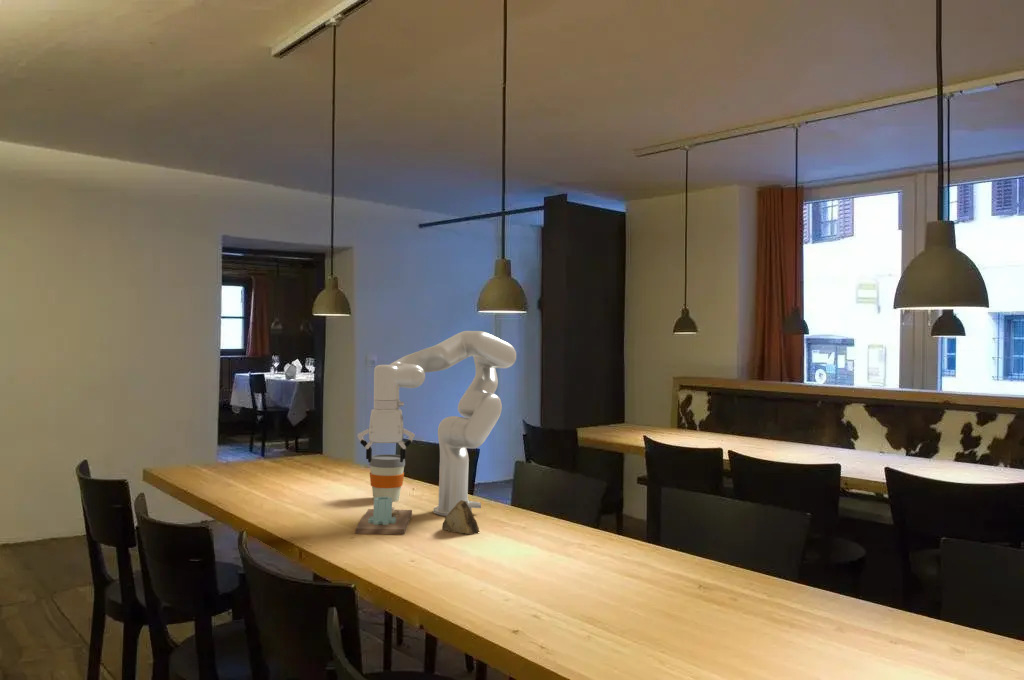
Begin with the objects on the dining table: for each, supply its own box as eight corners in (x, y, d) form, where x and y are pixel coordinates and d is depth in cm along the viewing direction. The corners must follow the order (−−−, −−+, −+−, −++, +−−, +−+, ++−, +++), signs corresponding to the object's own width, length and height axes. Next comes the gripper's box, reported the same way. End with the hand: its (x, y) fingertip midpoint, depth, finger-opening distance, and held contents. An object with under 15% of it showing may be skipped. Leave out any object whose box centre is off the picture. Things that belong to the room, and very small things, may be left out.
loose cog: (397, 518, 227) (398, 496, 227) (394, 525, 218) (395, 501, 218) (370, 518, 226) (371, 495, 226) (366, 524, 218) (367, 501, 218)
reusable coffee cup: (400, 504, 254) (402, 460, 254) (364, 502, 254) (365, 459, 255) (406, 496, 267) (408, 454, 267) (372, 495, 267) (373, 453, 267)
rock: (431, 522, 220) (449, 525, 212) (445, 497, 224) (463, 499, 216) (457, 541, 224) (475, 544, 216) (470, 516, 228) (489, 518, 220)
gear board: (411, 514, 239) (412, 492, 239) (404, 534, 214) (404, 510, 214) (368, 513, 238) (369, 491, 239) (355, 533, 214) (356, 509, 214)
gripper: (415, 404, 229) (415, 459, 229) (359, 404, 228) (358, 459, 228) (414, 406, 221) (413, 463, 222) (355, 406, 220) (355, 463, 221)
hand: (385, 461), depth 225 cm, fingers open, 9 cm apart
